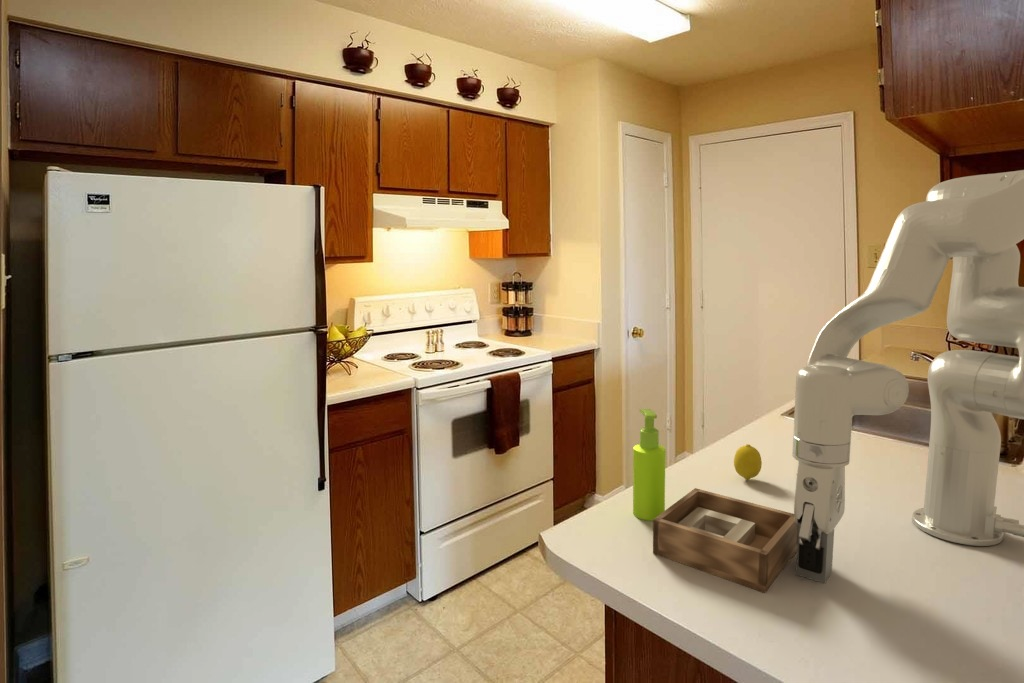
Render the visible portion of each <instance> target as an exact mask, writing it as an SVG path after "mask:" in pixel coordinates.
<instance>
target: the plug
mask: <svg viewBox="0 0 1024 683" xmlns="http://www.w3.org/2000/svg"><path fill="white" fill-rule="evenodd" d="M813 525H814V526H817V524H816V523H813ZM817 527H818V526H817ZM800 528H801V525H800V526H798V546H797V551H796V553H797V554H796V570H795V571H796V572H795V574H796V575H797V576H801V577H804V578H807V579H809V580H812V581H816V582H818V583H822V584H826V583H827V581H828V579H829V578H830V576H831V574H832V572H833V560H834V558H833V556H834V543H835V542H834V539H835V528H834V529H833V531H832V532H830V533H828V534H825V533H824V532H823V536H822V545H821V547H822V548H824V552H823V570H822V573H821V574H818V573H815V572H812V571H808V570H805V569H802V568H800V567H799V566H798V562H799V542H800V538H799V533H800ZM812 535H815V537H816V538H817V532H814V531H812Z"/></svg>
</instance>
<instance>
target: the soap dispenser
mask: <svg viewBox="0 0 1024 683" xmlns="http://www.w3.org/2000/svg"><path fill="white" fill-rule="evenodd" d="M639 413H642V415H643V416H644V426H643V427H642V428H641V429H639V431H640V432H639V444H635V445H634V446H633V450H632V456H633V457H632V463H633V464H632V465H633V466H632V474H633V475H632V489H633V490H632V513H633V515H634V516H635V517H636V518H637V519H639V520H643V521H651V522H652V521H653V519H654V518H656V517H657V516H658V515H660V514H661V513H662V512H664V511H665V510H666V447H664V446H663V445H660V444H659V436H660V434H659V433H660V432H659V429H658V428H656V427H655V419H657V417H658V416H657V414H656V413H655V411H654V410H653V409H651V408H649V409H648V408H644V409H642V408H641V409H639Z"/></svg>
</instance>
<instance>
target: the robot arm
mask: <svg viewBox="0 0 1024 683" xmlns="http://www.w3.org/2000/svg"><path fill="white" fill-rule="evenodd" d="M1023 240H1024V169H1020V170H1015V171H1006V172H1005V171H1004V172H996V173H987V174H976V175H968V176H962V177H955V178H952V179H948V180H944V181H942V182H939V183H937V184H935V185H933V186H932V187H931V188H930V189H929V191H928V192H927V194H926V198H925V201H920V202H916V203H914V204H911V205H909V206H907V207H905V208H904V209H903V210H901V212H900V213H899V214H898V215H897V217H896V219H895V221H894V224H893V225H892V228H891V231H890V232H889V234H888V237H887V240H886V242H885V244H884V247H883V250H882V252H881V255H880V256H879V259H878V261H877V264H876V266H875V268H874V271H873V273H872V276H871V278H870V281H869V284H868V285H867V287H866V289H865V291H864V292H863V293H862V294H860V295H859V296H858V297H856V298H855V299H853V300H852V301H851V302H849V303H848V304H847V305H846V306H845V307H843V308H842V309H841V310H840V311H839V312H837V313H836V314H835V315H834V316H833V317H832V318H831V319H830V320H828V322H827V323H826V324H825V325H824V326H823V327H822V329H821V330H820V331H819V333H818V335H817V337H816V338H815V341H814V344H813V346H812V347H811V348H812V349H811V351H810V353H809V357H808V359H807V361H806V365H805V366H804V367H802V368H800V369H799V370H798V372H797V373H796V379H795V391H794V392H795V396H794V397H795V398H794V414H793V415H794V416H793V417H794V419H793V436H792V438H793V439H792V455H791V456H792V457H793V459H794V460H796V461H797V462H798V464H797V470H796V471H797V472H796V482H795V490H794V504H793V508H794V509H793V514H794V522H795V523H796V525H797V526H800V525H801V528H800V533H799V538H800V542H799V562H798V566H799V567H800V568H802V569H805V570H808V571H812V572H815V573H818V574H821V573H822V570H823V552H824V548H822V547H821V545H822V536H823V532H824V533H825V534H828V533H830V532H832V531H833V529H834V530H835V528H836V527H837V525H838V524H839V523H840V521H841V519H842V518H843V516H844V513H845V509H846V508H845V505H846V499H845V498H846V468H845V467H847V466H848V465H849V464H850V461H851V460H850V459H851V444H852V442H851V441H852V429H853V428H852V427H853V417H854V416H858V415H859V416H861V415H862V416H863V415H864V416H884V415H887V414H891V413H894V412H896V411H897V410H899V409H900V408H901V407H902V406H903V405H904V404H906V401H907V399H908V397H909V393H910V385H909V381H908V380H907V377H905V375H904V374H903V373H902V372H901V371H899V370H898V369H896V368H894V367H892V366H889V365H886V364H883V363H882V364H881V363H878V362H877V363H876V362H870V361H865V360H861V359H856V358H850V357H848V356H849V354H850V353H851V350H852V349H853V348H854V346H855V345H856V344H857V343H858V341H859V340H861V339H862V338H863V337H864V336H866V335H868V334H869V333H871V332H873V331H875V330H877V329H880V328H881V327H883V326H888V325H890V324H892V323H893V324H894V323H897V322H899V321H903V320H906V319H908V318H909V319H910V318H911V317H912V318H913V317H915V316H918V315H921V314H922V313H924V312H926V311H927V310H928V309H929V308H930V306H931V304H932V301H933V299H934V297H935V294H936V292H937V290H938V287H939V284H940V282H941V280H942V277H943V275H944V272H945V271H946V267H947V265H948V263H949V261H950V259H951V258H952V272H951V281H950V287H949V296H948V304H947V311H946V326H947V331H948V333H949V334H950V335H951V336H952V337H954V338H955V339H958V340H961V341H964V342H969V343H975V344H976V343H977V344H983V345H991V346H998V347H1007V348H1014V349H1017V351H1018V356H1017V355H1016V356H1014V355H1007V354H1001V353H995V352H989V351H988V352H987V351H981V350H979V351H978V350H972V349H952V350H946V351H944V352H941V353H939V354H938V355H936V356H935V357H934V359H932V361H931V363H930V364H929V366H928V371H927V386H928V392H929V393H928V394H929V399H930V429H929V430H930V433H929V441H928V442H929V444H928V455H927V456H928V457H927V465H926V466H927V468H926V477H925V479H926V481H925V490H924V503H923V507H922V508H918V509H915V510H914V511H913V512H912V518H911V519H912V522H913V524H914V525H915V526H916V527H917V528H919V529H920V530H921V531H923V532H925V533H926V534H928V535H931V536H932V537H935V538H939V539H941V540H944V541H947V542H951V543H955V544H960V545H966V546H976V547H989V546H990V547H991V546H995V545H998V544H1000V543H1002V541H1003V540H1004V533H1007V534H1012V535H1013V536H1017V537H1021V538H1024V524H1020V520H1019V519H1016V518H1011V517H1010V518H1009V517H1003V516H1002V514H998V513H997V508H998V507H997V506H995V501H996V493H997V484H998V473H999V463H1000V456H1001V455H1000V454H1001V445H1002V435H1001V431H1000V428H999V425H998V423H997V421H996V419H995V418H994V416H993V414H996V415H1000V416H1005V417H1009V418H1014V419H1020V420H1024V286H1019V274H1020V266H1021V265H1020V264H1021V252H1020V249H1019V247H1018V245H1017V244H1018V243H1020V242H1021V241H1023ZM813 523H816V524H817V526H818V527H817V526H814V525H813ZM812 531H814V532H817V538H816V537H815V535H812Z"/></svg>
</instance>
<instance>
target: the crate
mask: <svg viewBox="0 0 1024 683" xmlns="http://www.w3.org/2000/svg"><path fill="white" fill-rule="evenodd" d="M652 523H653V524H652V554H654V555H656V556H659V557H662V558H666V559H668V560H671V561H673V562H677V563H679V564H682V565H685V566H688V567H691V568H694V569H696V570H700V571H702V572H705V573H708V574H711V575H712V576H716V577H718V578H721V579H724V580H727V581H730V582H732V583H736V584H739V585H741V586H744V587H747V588H749V589H751V590H752V589H753V590H755V591H758V592H760V593H763V594H765V593H766V592H767V591H768V589H770V587H771V586H772V584H773V583H774V582H775V580H776V579H777V577H778V576H779V575H780V574H781V572H782V571H783V570H784V569H785V567H786V566H787V564H788V563H789V562H790V561H791V559H792V558H793V556H794V555H795V554H796V553H797V546H798V526H797V525H796V523H795V522H794V513H791V512H789V511H784V510H781V509H776V508H773V507H769V506H764V505H761V504H757V503H753V502H750V501H746V500H743V499H742V500H741V499H740V498H739V499H738V498H735V497H732V496H727V495H723V494H719V493H714V492H712V491H707V490H704V489H701V488H697V487H694V488H693V489H692V490H691V491H689V492H688V493H687V494H685V495H684V496H682V497H681V498H680V499H678V500H677V501H676V502H675V503H673V504H672V505H670V506H669V507H668V508H665V511H664V512H662V513H661V514H660V515H658V516H657V517H656V518H654V519H653V522H652Z"/></svg>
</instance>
